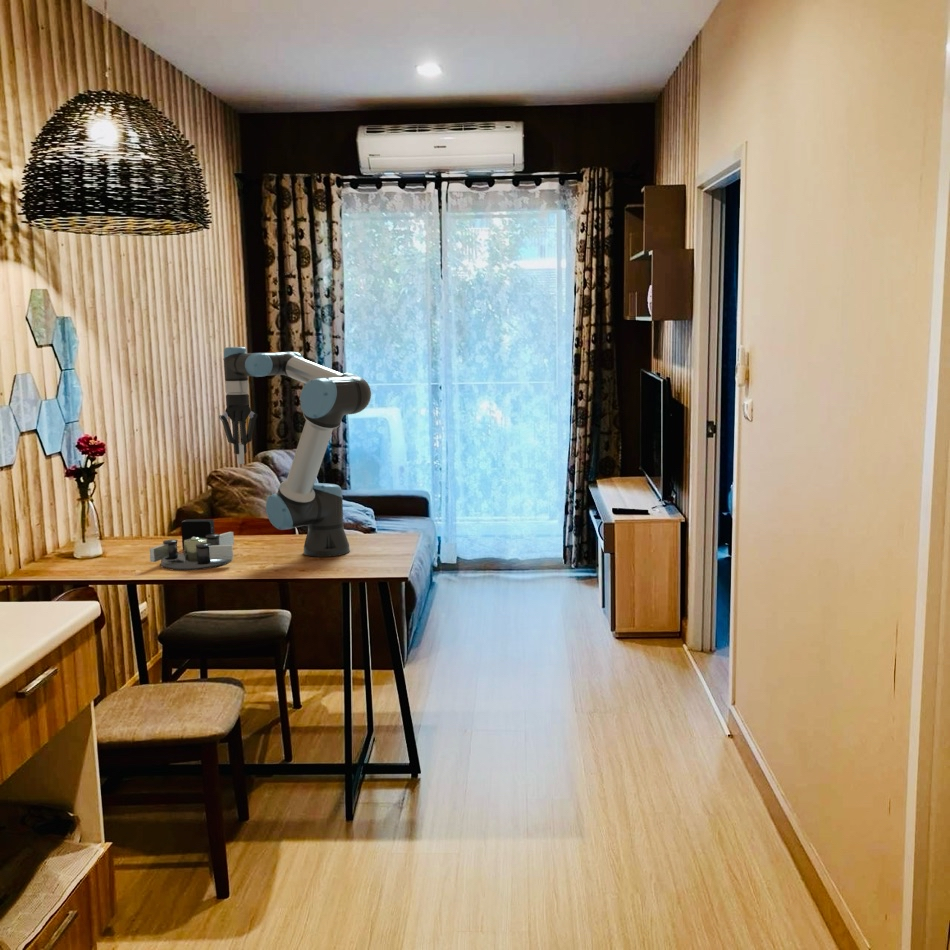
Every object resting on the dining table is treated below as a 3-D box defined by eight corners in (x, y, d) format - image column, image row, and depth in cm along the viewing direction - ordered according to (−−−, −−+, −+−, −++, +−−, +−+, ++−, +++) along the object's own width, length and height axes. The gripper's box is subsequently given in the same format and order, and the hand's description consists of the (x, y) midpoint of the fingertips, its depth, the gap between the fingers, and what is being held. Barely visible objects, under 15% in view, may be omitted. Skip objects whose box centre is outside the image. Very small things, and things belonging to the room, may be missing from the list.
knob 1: (170, 556, 314) (168, 539, 313) (181, 557, 312) (180, 539, 311) (147, 564, 303) (145, 546, 303) (158, 565, 302) (157, 547, 301)
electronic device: (211, 550, 328) (210, 521, 327) (182, 550, 329) (180, 521, 327) (215, 547, 333) (213, 518, 331) (186, 547, 333) (184, 519, 331)
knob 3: (195, 564, 302) (194, 546, 302) (198, 560, 307) (197, 543, 306) (231, 562, 303) (230, 544, 302) (234, 559, 308) (233, 541, 307)
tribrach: (246, 557, 316) (244, 532, 315) (198, 573, 297) (196, 546, 296) (195, 551, 326) (193, 527, 325) (145, 566, 307) (144, 540, 306)
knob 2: (214, 554, 315) (213, 537, 315) (203, 553, 317) (202, 536, 317) (237, 547, 325) (236, 530, 324) (227, 546, 327) (226, 529, 326)
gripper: (251, 392, 329) (255, 460, 333) (214, 394, 322) (218, 464, 325) (260, 393, 323) (263, 462, 326) (222, 395, 316) (226, 466, 319)
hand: (241, 463), depth 326 cm, fingers closed
